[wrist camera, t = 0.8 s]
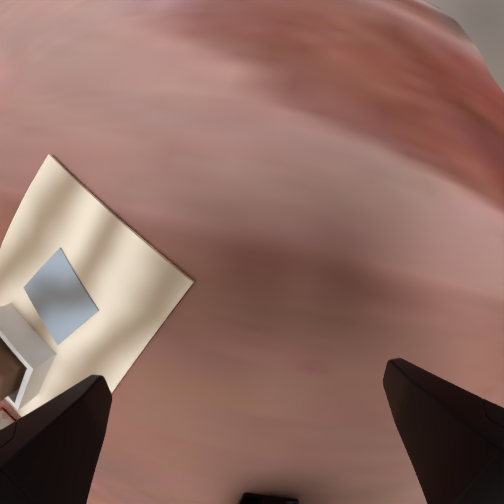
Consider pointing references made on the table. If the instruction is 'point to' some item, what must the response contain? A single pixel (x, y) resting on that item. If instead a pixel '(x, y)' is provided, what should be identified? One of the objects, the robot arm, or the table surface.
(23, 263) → the board
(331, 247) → the table surface
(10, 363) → the walnut block
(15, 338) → the sleeve
